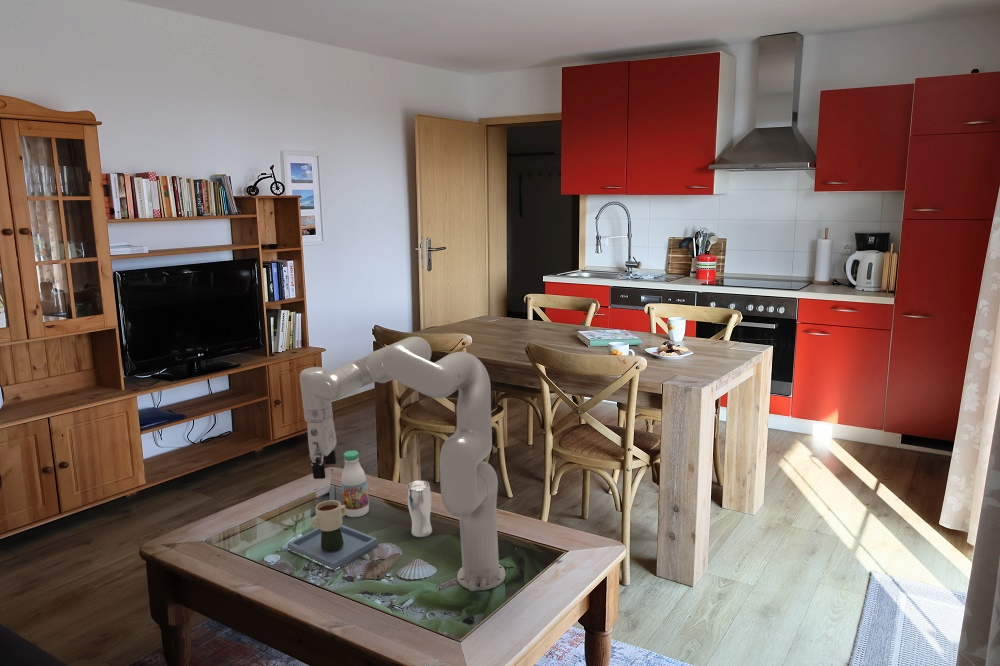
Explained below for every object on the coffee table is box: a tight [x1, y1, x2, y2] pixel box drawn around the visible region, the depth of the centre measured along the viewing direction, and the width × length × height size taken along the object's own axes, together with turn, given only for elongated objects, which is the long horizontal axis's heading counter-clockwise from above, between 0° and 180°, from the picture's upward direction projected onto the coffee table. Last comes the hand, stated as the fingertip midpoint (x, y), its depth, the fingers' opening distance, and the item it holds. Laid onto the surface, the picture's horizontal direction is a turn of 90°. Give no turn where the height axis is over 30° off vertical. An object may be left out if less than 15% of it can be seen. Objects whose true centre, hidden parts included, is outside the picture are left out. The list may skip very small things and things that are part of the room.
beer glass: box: [406, 480, 433, 538], centre depth 213 cm, size 7×7×15 cm
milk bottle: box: [340, 450, 370, 518], centre depth 227 cm, size 8×8×20 cm
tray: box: [287, 524, 379, 569], centre depth 208 cm, size 20×16×2 cm
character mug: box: [311, 499, 346, 551], centre depth 206 cm, size 11×7×13 cm, turn 136°
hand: (325, 470), depth 203 cm, fingers open, 9 cm apart
